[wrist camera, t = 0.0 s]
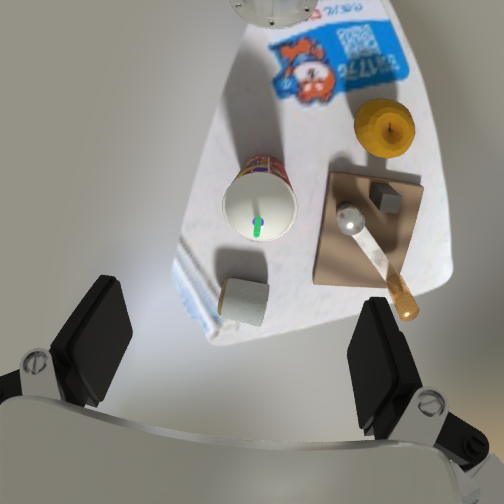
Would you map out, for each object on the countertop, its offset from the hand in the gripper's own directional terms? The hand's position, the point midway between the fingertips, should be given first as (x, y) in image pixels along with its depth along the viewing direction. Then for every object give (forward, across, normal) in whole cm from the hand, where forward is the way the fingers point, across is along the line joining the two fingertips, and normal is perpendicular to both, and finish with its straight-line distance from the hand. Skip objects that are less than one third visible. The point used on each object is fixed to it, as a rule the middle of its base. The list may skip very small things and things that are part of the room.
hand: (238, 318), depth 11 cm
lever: (+32, -18, +14) cm, 40 cm away
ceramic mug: (+37, +2, +28) cm, 47 cm away
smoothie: (+37, 0, +5) cm, 37 cm away
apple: (+37, -16, -5) cm, 41 cm away
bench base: (+37, -18, +14) cm, 43 cm away
